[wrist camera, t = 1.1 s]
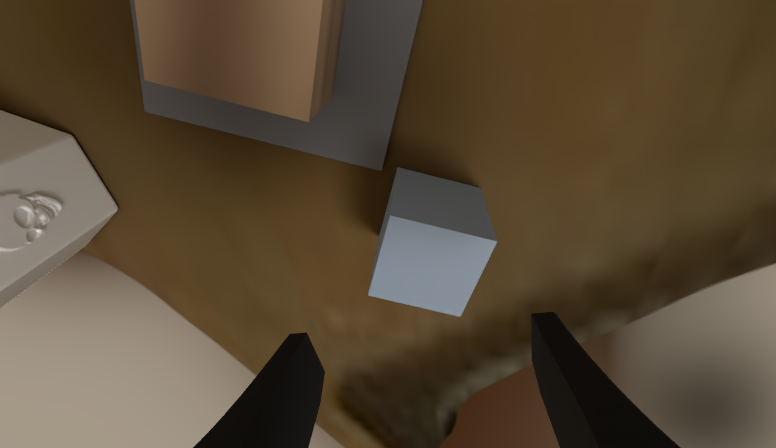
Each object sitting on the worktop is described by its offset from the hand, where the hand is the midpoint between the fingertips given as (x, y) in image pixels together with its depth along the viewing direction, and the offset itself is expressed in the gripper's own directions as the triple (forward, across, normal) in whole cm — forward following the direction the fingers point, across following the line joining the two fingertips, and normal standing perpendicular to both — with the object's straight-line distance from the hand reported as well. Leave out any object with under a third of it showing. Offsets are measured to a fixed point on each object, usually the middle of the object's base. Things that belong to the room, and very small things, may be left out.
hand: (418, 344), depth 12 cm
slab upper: (+7, +4, -10) cm, 13 cm away
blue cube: (+10, 0, +1) cm, 10 cm away
